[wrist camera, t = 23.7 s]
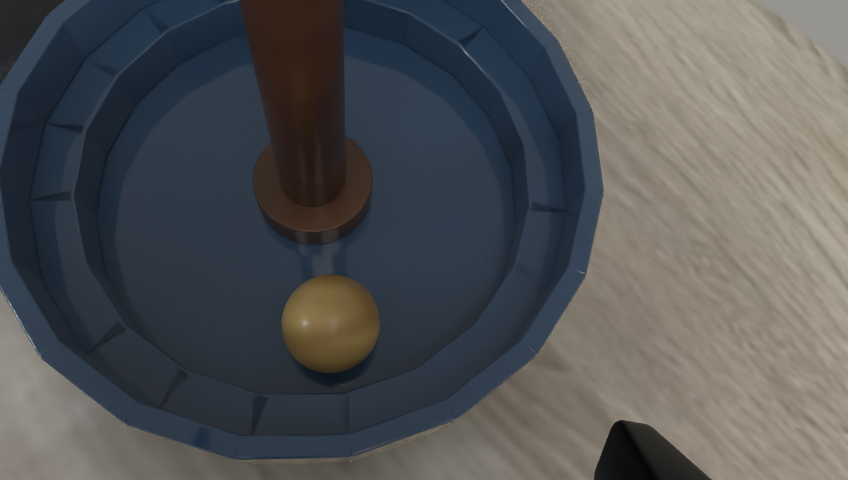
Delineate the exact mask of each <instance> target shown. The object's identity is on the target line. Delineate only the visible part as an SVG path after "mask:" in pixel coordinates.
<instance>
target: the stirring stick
mask: <svg viewBox="0 0 848 480" xmlns="http://www.w3.org/2000/svg"><path fill="white" fill-rule="evenodd" d="M238 2H239V6H240V10H241V15H242V19H243V23H244V27H245V32H246V36H247V40H248V45H249V49H250V53H251V58H252V62H253V66H254V71H255V75H256V79H257V84H258V88H259V92H260V97H261V101H262V105H263V110H264V114H265V118H266V122H267V127H268V131H269V135H270V140H271V143H270V144H268V146H267V147H266V148H265V149H264V150H263V152H262V153H261V155H260V156H259V158H258V160H257V162H256V165H255V168H254V174H253V187H254V192H255V196H256V199H257V202H258V205H259V208H260V211H261V213H262V215H263V217H264V219H265V220H266V222H267V223H268V224H269V225H270V226H271V227H272V228H273V229H274V230H275V231H276V232H277V233H279V234H280V235H282V236H283V237H285V238H287V239H289V240H292V241H295V242H298V243H303V244H324V243H329V242H333V241H336V240H338V239H340V238H343V237H344V236H346V235H348V234H349V233H350V232H352V231H353V230H354V229H355V228H356V227H357V226H358V225H359V224H360V223H361V222H362V220H363V219H364V217H365V215H366V214H367V211H368V209H369V206H370V202H371V194H372V171H371V166H370V163H369V161H368V159H367V157H366V155H365V153H364V152H363V150H362V149H361V148H360V147H359V146H358V145H357V144H356V143H355V142H354V141H353V140H352V139H350V138H349V137H347V136H346V135H345V77H344V9H343V0H238Z"/></svg>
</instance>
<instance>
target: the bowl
mask: <svg viewBox="0 0 848 480" xmlns="http://www.w3.org/2000/svg"><path fill="white" fill-rule="evenodd" d="M343 9H344V77H345V135H346V136H347V137H349V138H350V139H352V140H353V141H354V142H355V143H356V144H357V145H358V146H359V147H360V148H361V149H362V150H363V152H364V153H365V155H366V157H367V159H368V161H369V163H370V166H371V171H372V194H371V202H370V206H369V209H368V211H367V214H366V215H365V217H364V219H363V220H362V222H361V223H360V224H359V225H358V226H357V227H356V228H355V229H354V230H353V231H352V232H350V233H349V234H348V235H346V236H344V237H343V238H340V239H338V240H336V241H333V242H329V243H324V244H303V243H298V242H295V241H292V240H289V239H287V238H285V237H283V236H282V235H280V234H279V233H277V232H276V231H275V230H274V229H273V228H272V227H271V226H270V225H269V224H268V223H267V222H266V220H265V219H264V217H263V215H262V213H261V211H260V208H259V205H258V202H257V199H256V196H255V192H254V187H253V174H254V168H255V165H256V162H257V160H258V158H259V156H260V155H261V153H262V152H263V150H264V149H265V148H266V147H267V146H268V144H270V143H271V140H270V135H269V131H268V127H267V122H266V118H265V114H264V110H263V105H262V101H261V97H260V92H259V88H258V84H257V79H256V75H255V71H254V66H253V62H252V58H251V53H250V49H249V45H248V40H247V36H246V32H245V27H244V23H243V19H242V15H241V10H240V6H239V2H238V0H65V1H63V2H62V3H61V4H60V5H58V6H57V7H56V8H55V9H53V10H52V11H51V12H50V13H49V14H48V15H49V16H46V17H45V19H44V20H43V22H42V23H41V25H40V26H39V28H38V29H37V31H36V32H35V34H34V35H33V37H32V38H31V40H30V41H29V43H28V44H27V46H26V47H25V49H24V50H23V52H22V53H21V55H20V56H19V58H18V59H17V61H16V62H15V64H14V65H13V67H12V68H11V70H10V71H9V73H8V74H7V76H6V77H5V79H4V80H3V82H2V83H1V85H0V290H1V292H2V293H3V295H4V297H5V299H6V300H7V302H8V304H9V305H10V307H11V309H12V311H13V312H14V314H15V316H16V317H17V319H18V321H19V323H20V324H21V326H22V328H23V330H24V331H25V333H26V335H27V336H28V338H29V340H30V342H31V343H32V345H33V347H34V348H35V350H36V352H37V354H38V355H39V356H40V357H41V359H42V360H43V361H45V362H46V363H47V364H49V365H50V366H51V367H52V368H54V369H55V370H56V371H57V372H59V373H60V374H61V375H63V376H64V377H65V378H66V379H68V380H69V381H70V382H71V383H73V384H74V385H75V386H77V387H78V388H79V389H80V390H82V391H83V392H84V393H85V394H87V395H88V396H89V397H91V398H92V399H93V400H94V401H96V402H97V403H98V404H100V405H101V406H102V407H103V408H105V409H106V410H107V411H108V412H110V413H111V414H112V415H114V416H115V417H116V418H117V419H119V420H120V421H121V422H122V423H124V424H126V425H127V426H130V427H134V428H137V429H140V430H143V431H146V432H149V433H152V434H155V435H158V436H161V437H165V438H168V439H171V440H174V441H177V442H180V443H183V444H186V445H189V446H192V447H196V448H199V449H202V450H205V451H208V452H211V453H214V454H217V455H220V456H223V457H227V458H230V459H233V460H237V461H242V462H247V463H251V464H302V463H348V462H350V461H356V460H359V459H362V458H365V457H367V456H370V455H373V454H376V453H378V452H381V451H384V450H387V449H390V448H392V447H395V446H398V445H401V444H403V443H406V442H409V441H412V440H415V439H417V438H420V437H423V436H426V435H428V434H431V433H434V432H436V431H438V430H440V429H442V428H443V427H445V426H447V425H448V424H450V423H452V422H453V421H455V420H456V419H458V418H459V417H460V416H462V415H463V414H464V413H465V412H467V411H468V410H469V409H470V408H472V407H473V406H474V405H476V404H477V403H478V402H479V401H481V400H482V399H483V398H484V397H486V396H487V395H488V394H489V393H491V392H492V391H493V390H494V389H496V388H497V387H498V386H499V385H501V384H502V383H503V382H504V381H506V380H507V379H508V378H509V377H511V376H512V375H513V374H514V373H516V372H517V371H518V370H519V369H521V368H522V367H523V366H524V365H526V364H527V363H528V362H529V361H531V360H532V359H533V358H534V357H535V355H537V354H538V353H539V351H540V349H541V348H542V346H543V344H544V343H545V341H546V340H547V338H548V336H549V335H550V333H551V332H552V330H553V328H554V327H555V325H556V324H557V322H558V320H559V319H560V317H561V316H562V314H563V312H564V311H565V309H566V308H567V306H568V304H569V303H570V301H571V299H572V298H573V296H574V295H575V293H576V291H577V290H578V288H579V287H580V285H581V283H582V282H583V280H584V279H585V275H586V273H587V268H588V264H589V259H590V254H591V249H592V245H593V240H594V235H595V230H596V226H597V221H598V216H599V212H600V207H601V202H602V197H603V191H604V189H603V182H602V175H601V167H600V160H599V152H598V145H597V138H596V130H595V123H594V116H593V112H592V109H591V107H590V105H589V103H588V101H587V98H586V96H585V94H584V92H583V90H582V88H581V86H580V84H579V82H578V80H577V78H576V76H575V74H574V72H573V70H572V68H571V66H570V64H569V62H568V60H567V58H566V56H565V54H564V52H563V50H562V48H561V46H560V44H559V42H558V41H557V39H556V38H555V37H554V36H553V35H552V33H551V32H550V31H549V30H548V29H547V28H546V27H545V26H544V25H543V24H542V23H541V22H540V21H539V20H538V18H537V17H536V16H535V15H534V14H533V13H532V12H531V11H530V10H529V9H528V8H527V7H526V6H525V5H524V3H523V2H522V1H521V0H343ZM328 274H335V275H342V276H346V277H349V278H351V279H353V280H355V281H357V282H359V283H360V284H361V285H363V286H364V287H365V288H366V289H367V290H368V291H369V292H370V294H371V295H372V297H373V298H374V300H375V302H376V304H377V307H378V310H379V315H380V331H379V336H378V339H377V342H376V344H375V346H374V348H373V350H372V351H371V352H370V354H369V355H368V356H367V357H366V358H365V359H364V360H363V361H362V362H361V363H359V364H358V365H357V366H355V367H353V368H351V369H349V370H346V371H343V372H338V373H322V372H317V371H314V370H311V369H309V368H307V367H305V366H304V365H302V364H301V363H299V362H298V361H297V360H296V359H295V358H294V357H293V356H292V354H291V353H290V352H289V350H288V348H287V346H286V345H285V342H284V339H283V335H282V328H281V321H282V314H283V310H284V308H285V305H286V303H287V301H288V299H289V297H290V296H291V295H292V293H293V292H294V291H295V290H296V289H297V288H298V287H299V286H300V285H302V284H303V283H304V282H306V281H308V280H310V279H312V278H314V277H317V276H321V275H328Z"/></svg>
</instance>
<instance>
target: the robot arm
mask: <svg viewBox="0 0 848 480" xmlns="http://www.w3.org/2000/svg"><path fill="white" fill-rule="evenodd" d="M594 480H711V479H710V478H709V477H708V476H707V475H706V474H704V473H703V472H702V471H701V470H700V469H699V468H698V467H697V466H695V465H694V464H693V463H692V462H691V461H690V460H689V459H688V458H686V457H685V456H684V455H683V454H682V453H681V452H680V451H679V450H677V449H676V448H675V447H674V446H673V445H672V444H671V443H669V442H668V441H667V440H666V439H665V438H664V437H663V436H662V435H660V434H659V433H658V432H657V431H656V430H655V429H654V428H652V427H651V426H649V425H647V424H642V423H636V422H630V421H624V420H619V421H617V422H615V423H614V425H613V426H612V428H611V430H610V432H609V435H608V438H607V440H606V443H605V446H604V448H603V451H602V454H601V456H600V459H599V461H598V464H597V467H596V470H595V474H594Z"/></svg>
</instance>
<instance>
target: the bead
mask: <svg viewBox="0 0 848 480" xmlns="http://www.w3.org/2000/svg"><path fill="white" fill-rule="evenodd" d="M281 328H282V335H283V339H284V342H285V345H286V346H287V348H288V350H289V352H290V353H291V354H292V356H293V357H294V358H295V359H296V360H297V361H298V362H299V363H301V364H302V365H304V366H305V367H307V368H309V369H311V370H314V371H317V372H322V373H338V372H343V371H346V370H349V369H351V368H353V367H355V366H357V365H358V364H359V363H361V362H362V361H363V360H364V359H365V358H366V357H367V356H368V355H369V354H370V352H371V351H372V350H373V348H374V346H375V344H376V342H377V339H378V336H379V331H380V315H379V310H378V307H377V304H376V302H375V300H374V298H373V297H372V295H371V294H370V292H369V291H368V290H367V289H366V288H365V287H364V286H363V285H361V284H360V283H359V282H357V281H355V280H353V279H351V278H349V277H346V276H342V275H335V274H328V275H321V276H317V277H314V278H312V279H310V280H308V281H306V282H304V283H303V284H302V285H300V286H299V287H298V288H297V289H296V290H295V291H294V292H293V293H292V295H291V296H290V297H289V299H288V301H287V303H286V305H285V308H284V310H283V314H282V321H281Z"/></svg>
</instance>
